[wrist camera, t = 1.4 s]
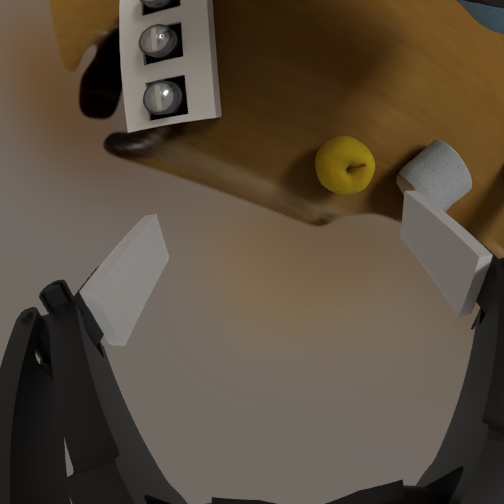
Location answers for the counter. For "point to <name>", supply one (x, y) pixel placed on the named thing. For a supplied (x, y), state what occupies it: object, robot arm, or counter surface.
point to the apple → (344, 165)
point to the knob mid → (160, 42)
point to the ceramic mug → (436, 175)
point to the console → (170, 61)
